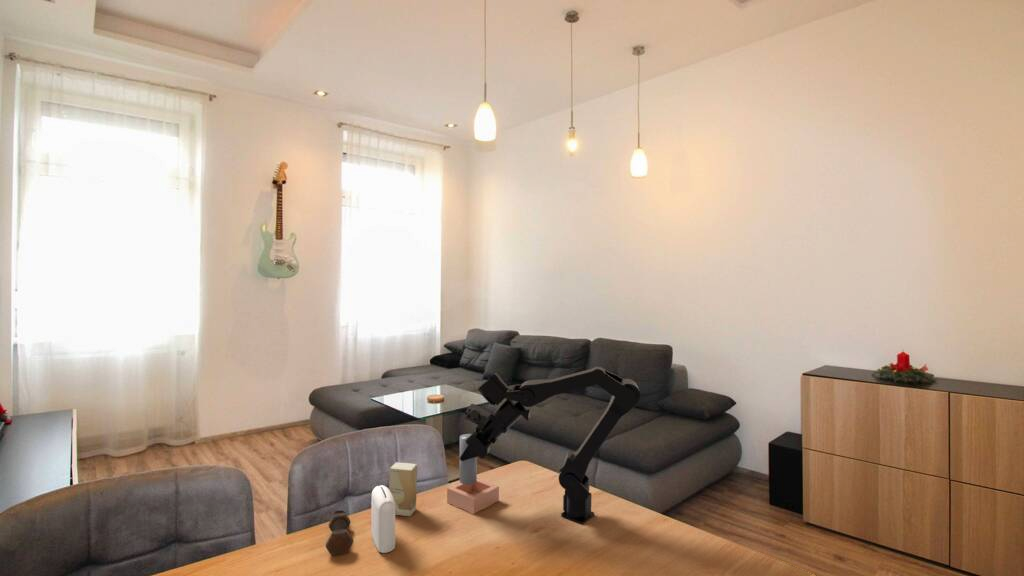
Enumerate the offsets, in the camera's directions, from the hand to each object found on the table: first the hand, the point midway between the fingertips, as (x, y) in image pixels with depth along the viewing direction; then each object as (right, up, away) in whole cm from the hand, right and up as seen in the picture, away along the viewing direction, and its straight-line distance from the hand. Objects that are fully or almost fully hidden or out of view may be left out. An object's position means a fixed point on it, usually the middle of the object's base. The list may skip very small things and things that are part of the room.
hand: (463, 456), depth 132 cm
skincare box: (-15, -13, -4) cm, 21 cm away
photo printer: (-17, -14, -18) cm, 28 cm away
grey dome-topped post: (+1, -7, 0) cm, 7 cm away
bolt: (-27, -14, -17) cm, 35 cm away
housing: (+2, -13, +2) cm, 14 cm away
